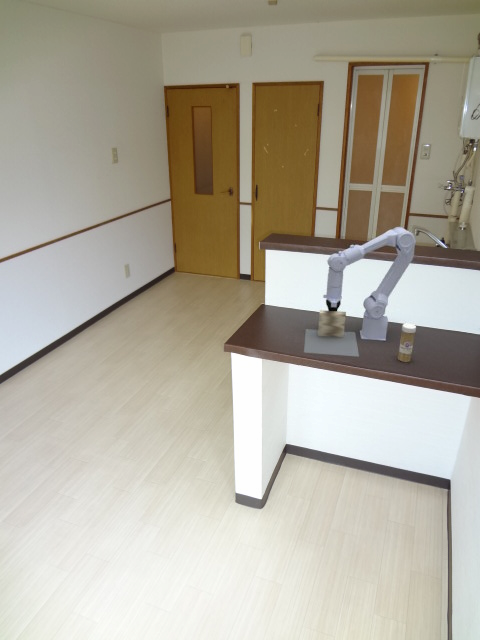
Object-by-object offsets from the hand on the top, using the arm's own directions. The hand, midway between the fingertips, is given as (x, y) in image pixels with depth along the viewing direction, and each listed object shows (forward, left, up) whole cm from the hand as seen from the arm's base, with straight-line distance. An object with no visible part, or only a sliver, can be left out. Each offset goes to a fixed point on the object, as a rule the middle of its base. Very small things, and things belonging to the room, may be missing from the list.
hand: (331, 317), depth 181 cm
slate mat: (0, +6, -8) cm, 10 cm away
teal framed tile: (0, 0, -7) cm, 7 cm away
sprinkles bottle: (-26, +16, -8) cm, 32 cm away
